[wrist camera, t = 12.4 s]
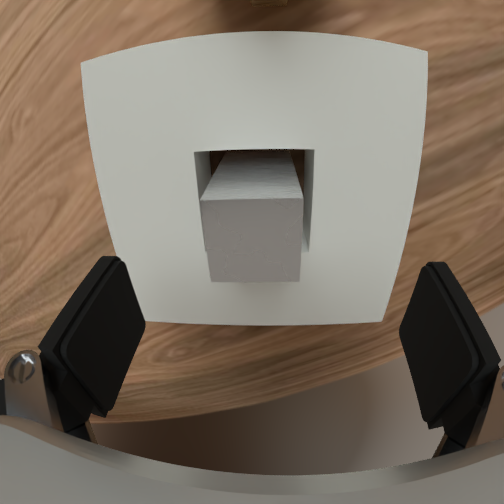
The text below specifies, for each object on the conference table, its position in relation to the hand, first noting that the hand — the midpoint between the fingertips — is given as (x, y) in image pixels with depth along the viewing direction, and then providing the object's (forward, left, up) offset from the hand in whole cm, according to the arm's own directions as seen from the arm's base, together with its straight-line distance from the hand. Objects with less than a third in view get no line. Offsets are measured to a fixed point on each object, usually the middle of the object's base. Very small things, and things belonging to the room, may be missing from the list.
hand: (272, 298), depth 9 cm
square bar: (+1, 0, -12) cm, 12 cm away
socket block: (+1, 0, -12) cm, 12 cm away
